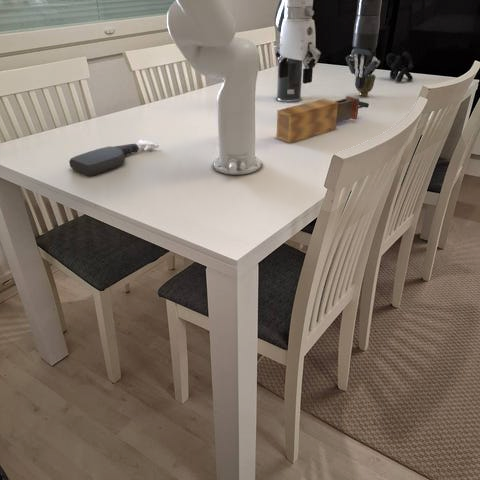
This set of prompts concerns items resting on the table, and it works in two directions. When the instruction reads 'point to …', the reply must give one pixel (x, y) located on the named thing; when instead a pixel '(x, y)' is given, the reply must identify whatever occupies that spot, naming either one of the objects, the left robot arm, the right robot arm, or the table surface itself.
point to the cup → (367, 85)
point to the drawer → (349, 108)
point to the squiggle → (399, 66)
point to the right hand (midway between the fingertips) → (359, 88)
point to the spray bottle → (106, 157)
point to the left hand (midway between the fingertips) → (295, 79)
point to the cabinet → (306, 120)
